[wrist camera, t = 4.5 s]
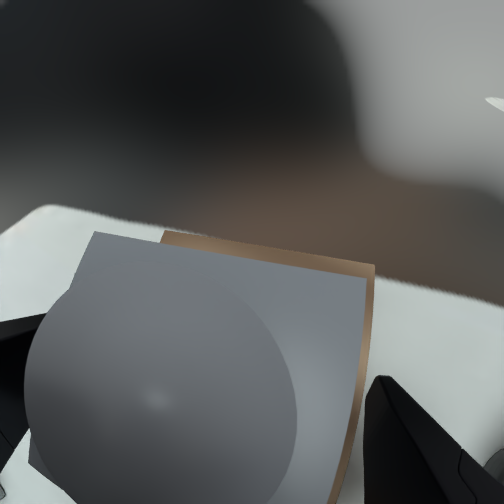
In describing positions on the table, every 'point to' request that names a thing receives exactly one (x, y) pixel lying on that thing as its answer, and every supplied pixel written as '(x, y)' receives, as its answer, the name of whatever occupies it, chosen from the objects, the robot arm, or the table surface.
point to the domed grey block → (193, 378)
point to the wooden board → (310, 263)
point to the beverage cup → (496, 466)
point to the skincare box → (1, 493)
